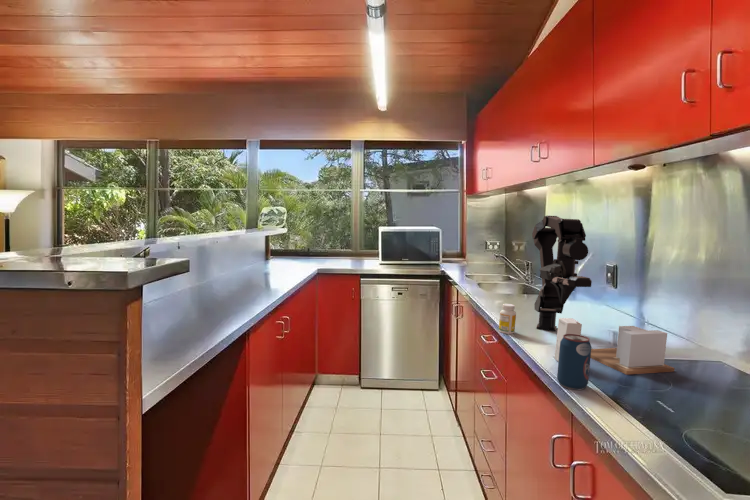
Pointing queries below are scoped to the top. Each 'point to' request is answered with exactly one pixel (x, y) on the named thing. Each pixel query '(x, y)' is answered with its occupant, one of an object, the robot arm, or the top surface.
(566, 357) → the soda can
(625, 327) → the white block
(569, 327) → the skincare box
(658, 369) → the brown board
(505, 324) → the supplement bottle
